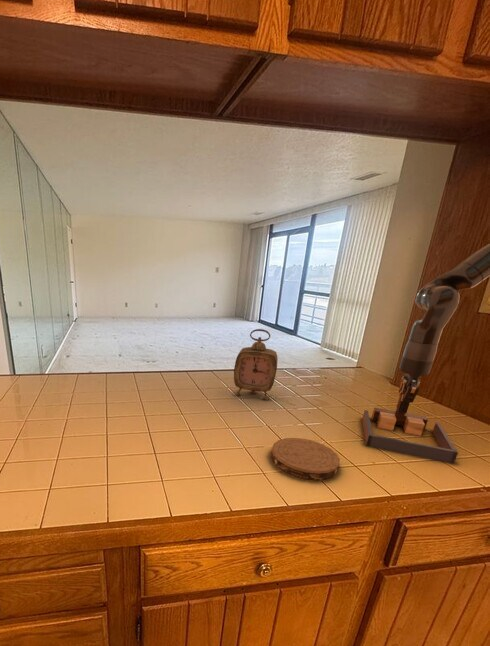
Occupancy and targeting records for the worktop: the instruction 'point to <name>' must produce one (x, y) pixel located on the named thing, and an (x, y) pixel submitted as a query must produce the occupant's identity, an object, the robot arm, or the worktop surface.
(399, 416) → the brush
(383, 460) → the worktop surface
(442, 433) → the corral
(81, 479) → the worktop surface
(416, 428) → the cube
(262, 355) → the tabletop clock
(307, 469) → the brown disc
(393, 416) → the cube
